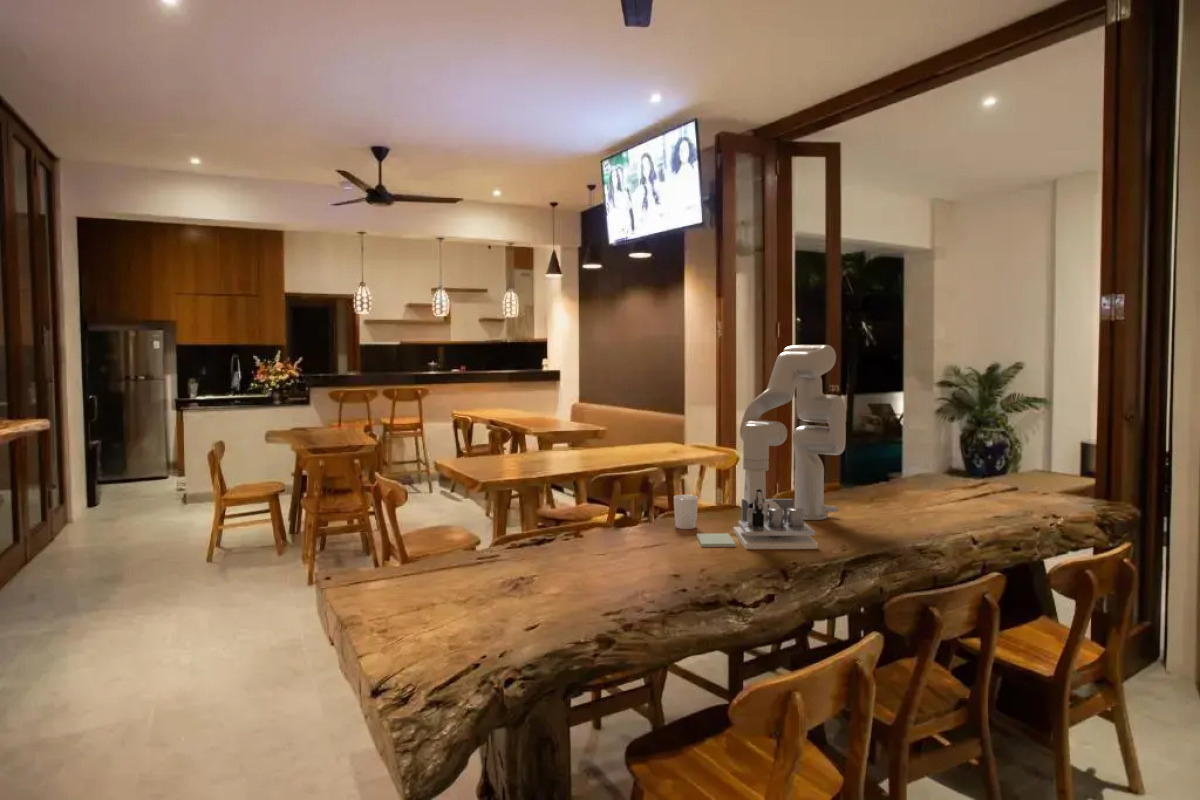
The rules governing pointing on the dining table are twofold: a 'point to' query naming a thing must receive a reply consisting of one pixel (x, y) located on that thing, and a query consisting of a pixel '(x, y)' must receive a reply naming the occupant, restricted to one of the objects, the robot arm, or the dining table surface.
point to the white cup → (685, 511)
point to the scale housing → (773, 541)
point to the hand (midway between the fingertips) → (755, 522)
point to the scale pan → (775, 530)
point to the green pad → (716, 540)
